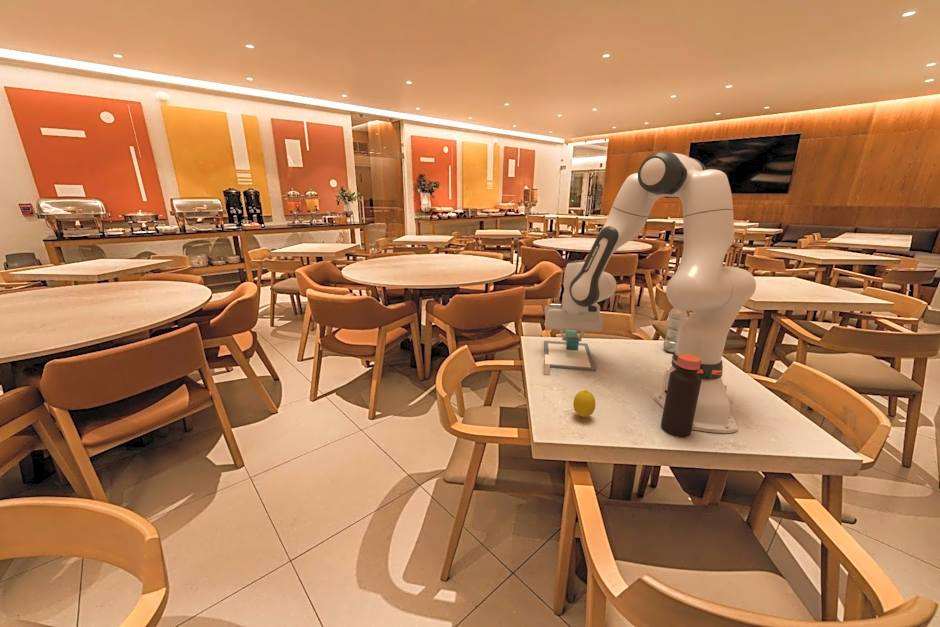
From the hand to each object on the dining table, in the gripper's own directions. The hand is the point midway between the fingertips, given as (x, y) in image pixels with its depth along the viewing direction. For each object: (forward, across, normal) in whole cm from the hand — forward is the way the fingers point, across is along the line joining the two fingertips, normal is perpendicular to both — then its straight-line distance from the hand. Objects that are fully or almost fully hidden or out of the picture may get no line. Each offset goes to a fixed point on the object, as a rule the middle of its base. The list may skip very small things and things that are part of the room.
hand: (571, 340), depth 140 cm
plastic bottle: (+6, +39, +10) cm, 41 cm away
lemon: (+6, 0, -44) cm, 44 cm away
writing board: (+6, -1, -2) cm, 6 cm away
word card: (+6, -9, -15) cm, 19 cm away
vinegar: (+7, +22, -45) cm, 51 cm away
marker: (+2, 0, 0) cm, 2 cm away
